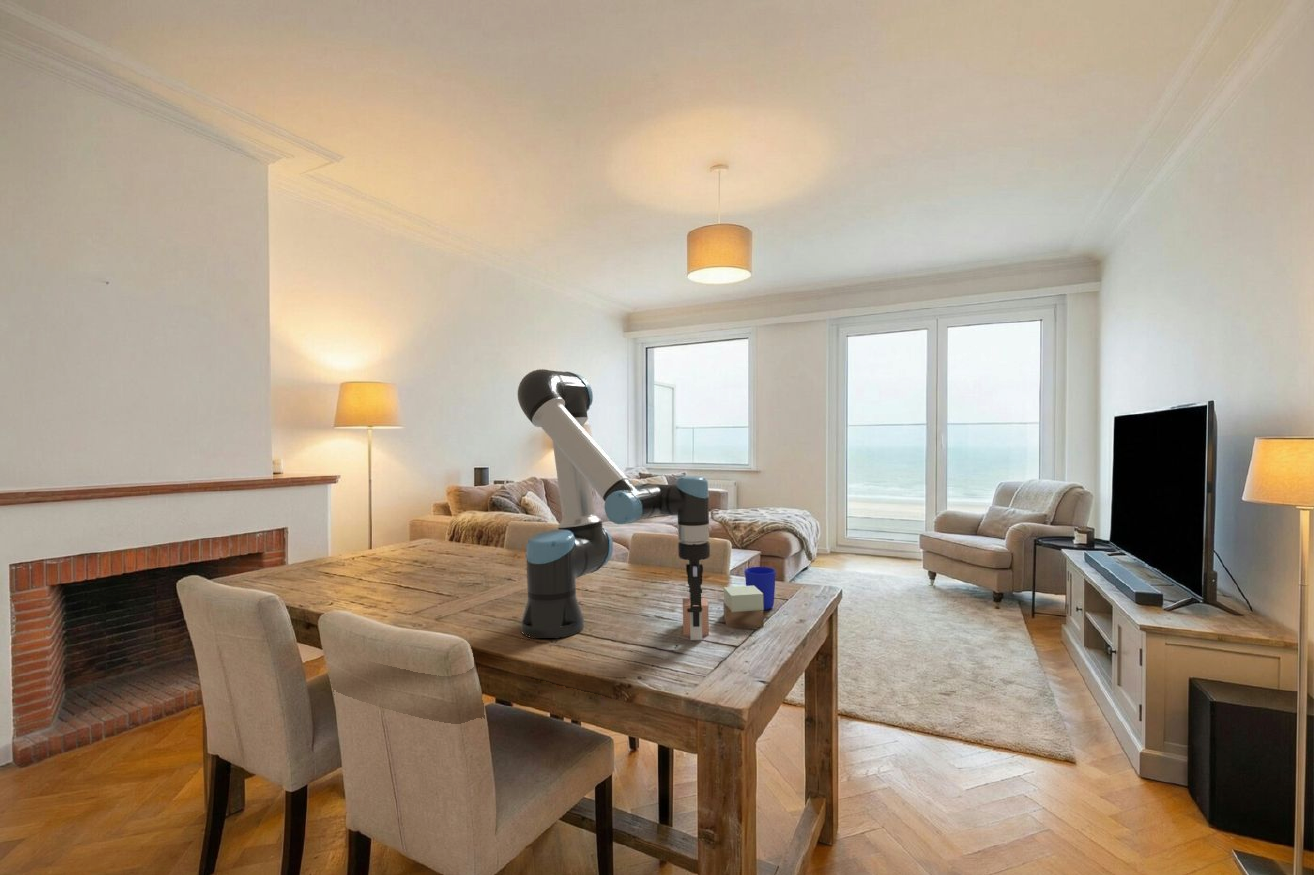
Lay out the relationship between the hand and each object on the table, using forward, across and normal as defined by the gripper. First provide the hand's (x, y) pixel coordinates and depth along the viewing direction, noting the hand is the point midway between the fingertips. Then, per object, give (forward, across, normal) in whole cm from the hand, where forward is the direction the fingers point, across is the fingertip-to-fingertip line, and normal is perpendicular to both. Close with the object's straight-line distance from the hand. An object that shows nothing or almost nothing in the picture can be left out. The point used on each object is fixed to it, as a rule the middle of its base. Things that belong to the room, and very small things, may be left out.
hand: (695, 629), depth 144 cm
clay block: (0, 0, 0) cm, 0 cm away
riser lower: (+1, +7, -12) cm, 14 cm away
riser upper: (-3, +7, -12) cm, 14 cm away
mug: (0, +20, -18) cm, 27 cm away
